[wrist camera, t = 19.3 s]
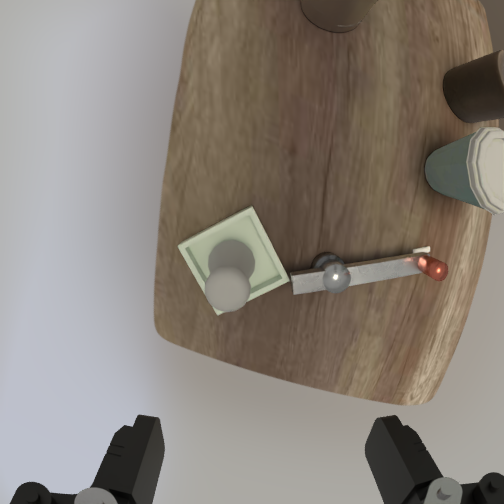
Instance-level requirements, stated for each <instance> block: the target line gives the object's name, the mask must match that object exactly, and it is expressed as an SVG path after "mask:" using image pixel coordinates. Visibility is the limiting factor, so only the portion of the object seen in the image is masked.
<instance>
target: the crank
mask: <svg viewBox="0 0 504 504" xmlns="http://www.w3.org/2000/svg"><path fill="white" fill-rule="evenodd" d="M418 273H424V274H426V275H428V276H430V277H431V278H433V279H435V280H437V281H442V280H444V279H445V278H446V276H447V274H448V266H447V264H445V263H443V262H441V261H439V260H437V259H435V258H433V257H431V256H430V254H428V253H426V252H418V253H412V254H406V255H400V256H394V257H388V258H382V259H375V260H369V261H363V262H356V263H349V264H342V263H340V262H339V261H338V260H335V259H328V260H326V261H324V262H323V263H322V264H321V265H320V266H319V268H316V269H309V270H302V271H295V272H290V276H291V286H292V292H293V294H294V295H295V294H302V293H308V292H315V291H321V290H328V291H329V292H331V293H340V292H342V291H344V290H345V289H346V288H347V287H348V286H352V285H358V284H364V283H369V282H375V281H381V280H386V279H391V278H397V277H402V276H407V275H412V274H418Z"/></svg>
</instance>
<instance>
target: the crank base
mask: <svg viewBox="0 0 504 504" xmlns="http://www.w3.org/2000/svg"><path fill="white" fill-rule="evenodd" d="M328 259H335V260H338V261H339V262H340V263H342V264H344V262H343V261H342V259H340V258H339V257H338V256H337V255H335V254H334V253H331V252H324V253H321V254H319V255H318V256H316V257H315V259H314V260H313V262H312V265H311V269H316V268H319V266H320V265H321V264H322V263H323V262H324V261H326V260H328Z"/></svg>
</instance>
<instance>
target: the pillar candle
mask: <svg viewBox="0 0 504 504" xmlns="http://www.w3.org/2000/svg"><path fill="white" fill-rule="evenodd" d="M443 89H444V95H445V98H446V100H447V102H448V104H449V106H450V108H451V109H452V111H453V112H454V113H455V115H456V116H457V117H459V118H460V119H461V120H463V121H465V122H468V123H475V122H481V121H488V120H494V119H500V118H504V49H503V50H500V51H497V52H494V53H491V54H488V55H486V56H483V57H481V58H478V59H475V60H473V61H470V62H468V63H466V64H463V65H460V66H458V67H456V68H453V69H451V70H450V71H448V72H447V73H446V75H445V78H444V81H443Z"/></svg>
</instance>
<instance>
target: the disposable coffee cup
mask: <svg viewBox="0 0 504 504" xmlns="http://www.w3.org/2000/svg"><path fill="white" fill-rule="evenodd" d="M425 174H426V180H427V181H428V183H429V184H430V186H431V187H432V188H433V189H434V190H435V191H437V192H439V193H441V194H443V195H446V196H449V197H452V198H455V199H458V200H461V201H463V202H466V203H469V204H472V205H475V206H477V207H480V208H483V209H485V210H487V211H489V212H490V213H492V214H493V215H494V214H501V213H504V131H502V130H501V129H500V128H494V127H480V128H479V130H478V131H477V132H475V133H472V134H470V135H468V136H466V137H463V138H461V139H459V140H457V141H455V142H452V143H450V144H448V145H446V146H444V147H441V148H439V149H437V150H435V151H434V152H433V153H432V154H431V155H430V156H429V157H428V158H427V160H426V165H425Z"/></svg>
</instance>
